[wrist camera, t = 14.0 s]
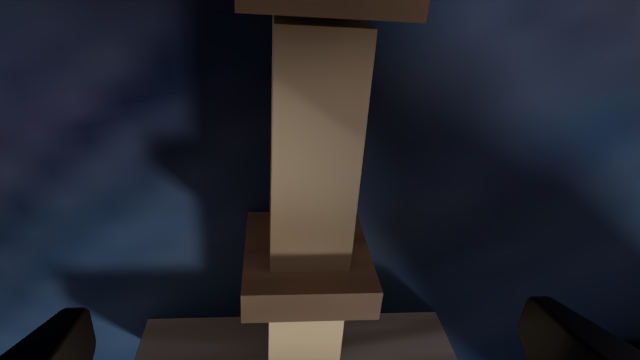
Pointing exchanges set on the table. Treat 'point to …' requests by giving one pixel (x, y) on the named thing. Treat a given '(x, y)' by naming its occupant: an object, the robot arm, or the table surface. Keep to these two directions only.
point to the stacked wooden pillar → (311, 208)
